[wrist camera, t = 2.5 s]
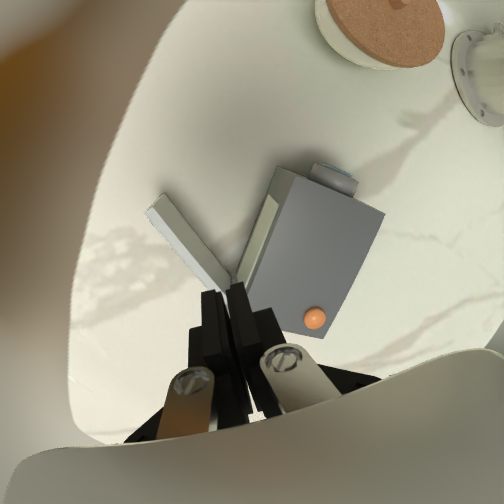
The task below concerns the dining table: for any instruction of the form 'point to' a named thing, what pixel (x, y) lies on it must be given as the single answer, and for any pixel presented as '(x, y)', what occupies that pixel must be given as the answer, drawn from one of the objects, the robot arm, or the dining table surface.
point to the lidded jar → (382, 31)
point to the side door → (188, 245)
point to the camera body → (307, 248)
